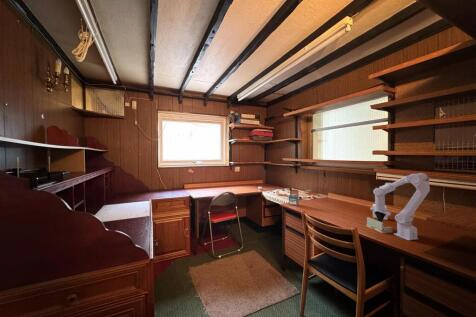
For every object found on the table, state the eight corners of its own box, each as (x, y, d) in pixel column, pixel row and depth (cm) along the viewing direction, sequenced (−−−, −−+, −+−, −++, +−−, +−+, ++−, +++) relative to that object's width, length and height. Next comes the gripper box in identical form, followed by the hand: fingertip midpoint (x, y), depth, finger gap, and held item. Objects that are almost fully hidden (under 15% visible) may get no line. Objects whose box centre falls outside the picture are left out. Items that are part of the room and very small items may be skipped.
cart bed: (392, 232, 129) (391, 227, 129) (382, 233, 128) (382, 228, 128) (375, 225, 142) (375, 220, 142) (366, 226, 141) (366, 221, 141)
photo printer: (372, 217, 159) (371, 203, 159) (373, 216, 162) (373, 202, 162) (387, 220, 151) (386, 205, 151) (388, 219, 154) (388, 204, 154)
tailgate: (383, 230, 129) (383, 222, 129) (382, 230, 128) (381, 223, 128) (367, 224, 141) (367, 217, 141) (366, 224, 141) (366, 217, 141)
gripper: (366, 201, 142) (367, 219, 142) (384, 207, 127) (385, 226, 128) (374, 201, 143) (374, 218, 143) (393, 206, 129) (393, 225, 129)
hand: (380, 222), depth 135 cm, fingers closed
